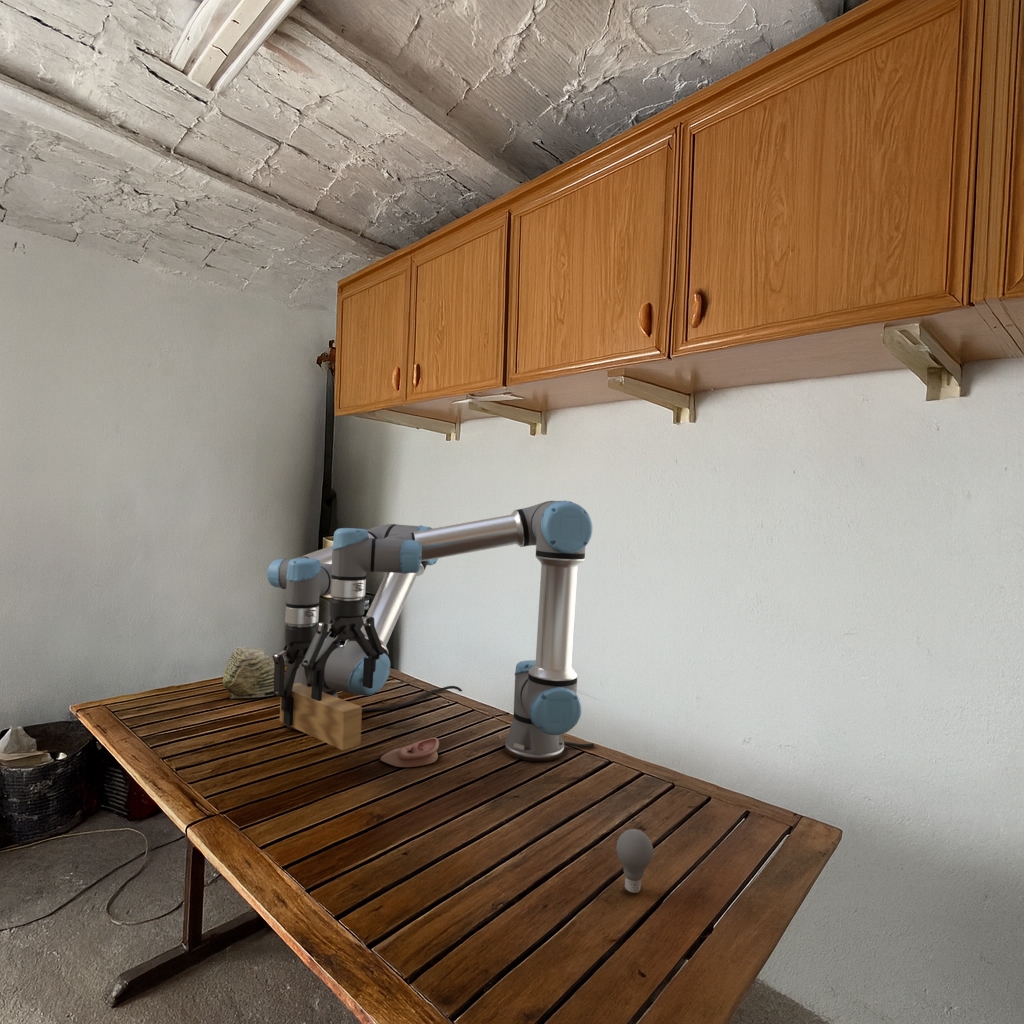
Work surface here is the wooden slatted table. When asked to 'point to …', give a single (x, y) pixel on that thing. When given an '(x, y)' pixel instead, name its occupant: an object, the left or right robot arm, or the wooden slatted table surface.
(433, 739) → the anatomical model
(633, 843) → the light bulb
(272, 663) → the fossil
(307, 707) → the bar
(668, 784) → the wooden slatted table surface
